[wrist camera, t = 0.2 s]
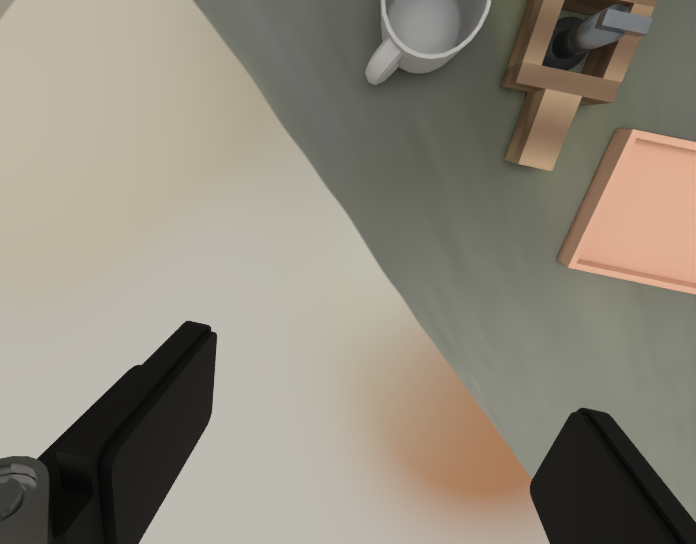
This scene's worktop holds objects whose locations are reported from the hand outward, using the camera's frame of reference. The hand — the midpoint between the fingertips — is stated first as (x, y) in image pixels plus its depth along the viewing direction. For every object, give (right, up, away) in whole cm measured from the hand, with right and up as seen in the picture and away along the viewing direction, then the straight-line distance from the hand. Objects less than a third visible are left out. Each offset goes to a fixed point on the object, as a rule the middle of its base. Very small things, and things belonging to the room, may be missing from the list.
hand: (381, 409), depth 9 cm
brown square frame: (+17, +21, +23) cm, 35 cm away
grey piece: (+18, +23, +22) cm, 37 cm away
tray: (+32, +9, +26) cm, 43 cm away
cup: (+5, +24, +23) cm, 34 cm away
